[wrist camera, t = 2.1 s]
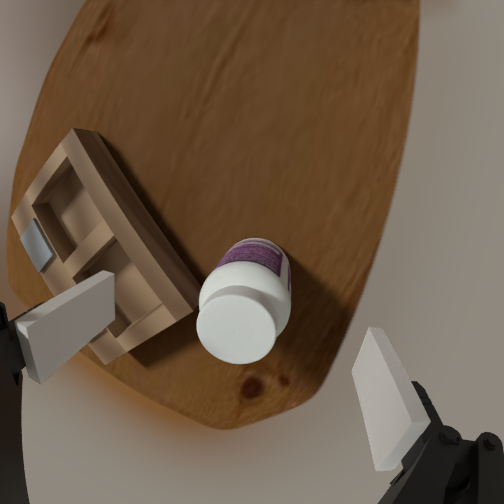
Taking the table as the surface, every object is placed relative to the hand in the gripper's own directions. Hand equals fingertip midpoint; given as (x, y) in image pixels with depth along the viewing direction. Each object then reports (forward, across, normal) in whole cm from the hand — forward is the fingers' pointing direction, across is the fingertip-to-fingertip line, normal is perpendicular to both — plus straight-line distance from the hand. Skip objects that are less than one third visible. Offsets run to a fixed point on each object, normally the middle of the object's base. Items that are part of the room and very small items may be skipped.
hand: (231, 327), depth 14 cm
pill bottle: (+10, 0, 0) cm, 10 cm away
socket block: (+10, -14, -1) cm, 17 cm away
